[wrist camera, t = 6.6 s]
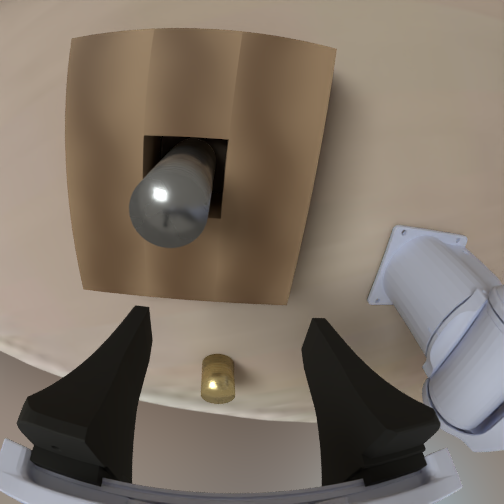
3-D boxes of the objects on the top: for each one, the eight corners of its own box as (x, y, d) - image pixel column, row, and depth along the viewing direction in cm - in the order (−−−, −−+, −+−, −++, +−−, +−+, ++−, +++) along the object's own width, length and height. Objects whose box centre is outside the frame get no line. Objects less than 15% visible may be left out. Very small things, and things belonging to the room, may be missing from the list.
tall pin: (218, 139, 18) (210, 174, 11) (214, 185, 20) (206, 250, 12) (169, 137, 18) (127, 171, 10) (168, 183, 20) (131, 246, 12)
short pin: (234, 354, 29) (236, 386, 25) (232, 373, 30) (233, 404, 27) (202, 353, 28) (200, 385, 25) (202, 372, 30) (200, 402, 26)
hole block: (313, 57, 16) (336, 49, 12) (277, 268, 24) (286, 305, 20) (102, 47, 14) (71, 38, 10) (103, 256, 22) (83, 289, 18)
